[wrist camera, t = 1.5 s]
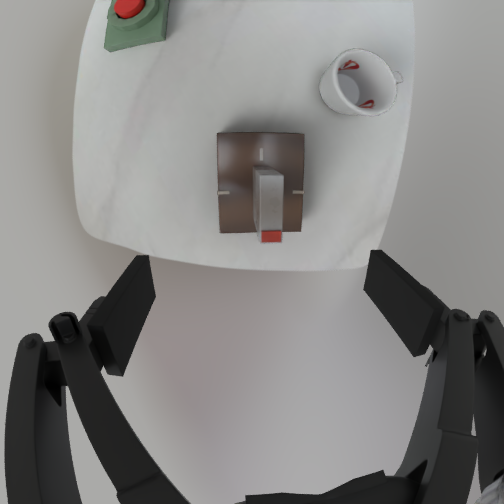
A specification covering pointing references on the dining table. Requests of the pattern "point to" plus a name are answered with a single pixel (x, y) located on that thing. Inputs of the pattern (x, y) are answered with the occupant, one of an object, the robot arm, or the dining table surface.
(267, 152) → the tap panel
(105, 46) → the button box
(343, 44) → the dining table surface
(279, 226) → the gray rectangular block
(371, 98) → the cup
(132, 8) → the button
